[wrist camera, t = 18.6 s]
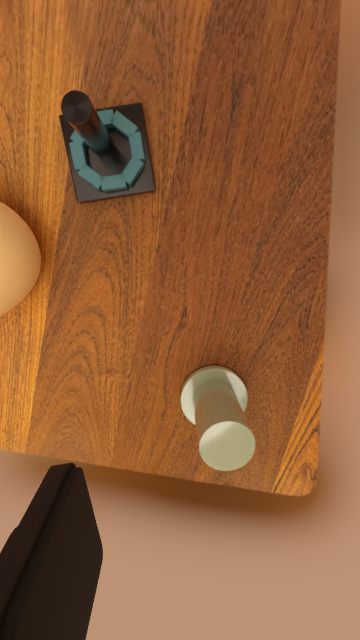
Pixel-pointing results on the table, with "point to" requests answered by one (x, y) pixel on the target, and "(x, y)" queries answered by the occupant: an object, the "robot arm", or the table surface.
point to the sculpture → (16, 259)
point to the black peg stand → (103, 146)
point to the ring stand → (219, 416)
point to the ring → (132, 167)
